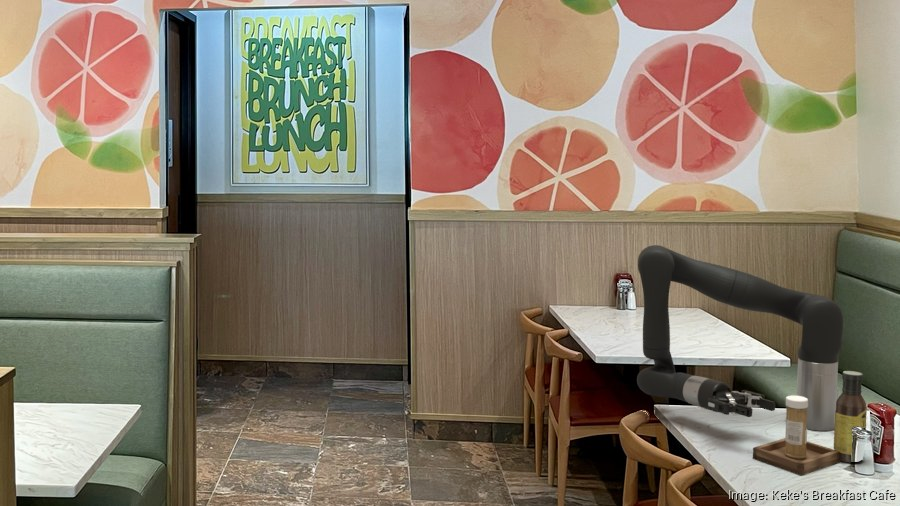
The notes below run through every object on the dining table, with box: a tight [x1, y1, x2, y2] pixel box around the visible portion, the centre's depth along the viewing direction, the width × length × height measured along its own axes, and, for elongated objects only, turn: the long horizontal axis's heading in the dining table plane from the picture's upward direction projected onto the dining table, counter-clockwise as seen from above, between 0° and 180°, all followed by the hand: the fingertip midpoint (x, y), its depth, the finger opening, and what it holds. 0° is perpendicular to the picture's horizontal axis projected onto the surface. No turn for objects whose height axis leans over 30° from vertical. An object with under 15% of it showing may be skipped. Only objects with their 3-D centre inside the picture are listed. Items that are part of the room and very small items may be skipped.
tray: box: [752, 437, 840, 476], centre depth 173 cm, size 14×12×2 cm
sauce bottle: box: [833, 370, 868, 463], centre depth 173 cm, size 6×6×20 cm
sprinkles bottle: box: [784, 395, 808, 459], centre depth 173 cm, size 5×5×14 cm
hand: (763, 409), depth 180 cm, fingers open, 8 cm apart
